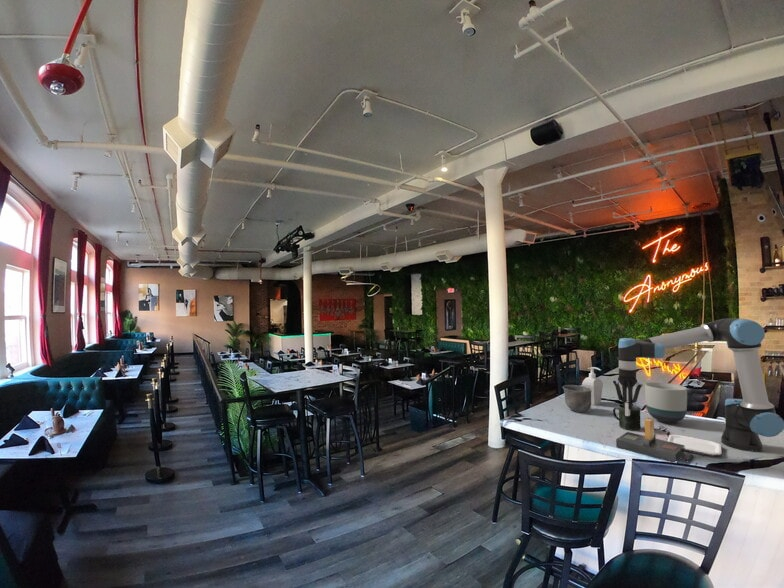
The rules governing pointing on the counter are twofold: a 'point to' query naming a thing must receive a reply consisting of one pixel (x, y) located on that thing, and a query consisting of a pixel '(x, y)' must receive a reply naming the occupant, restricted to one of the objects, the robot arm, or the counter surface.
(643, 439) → the panel
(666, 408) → the planter
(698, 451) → the plate
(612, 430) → the counter surface
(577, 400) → the cup
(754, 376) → the robot arm
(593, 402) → the soap bottle
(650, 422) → the lever
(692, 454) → the cord
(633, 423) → the mug
